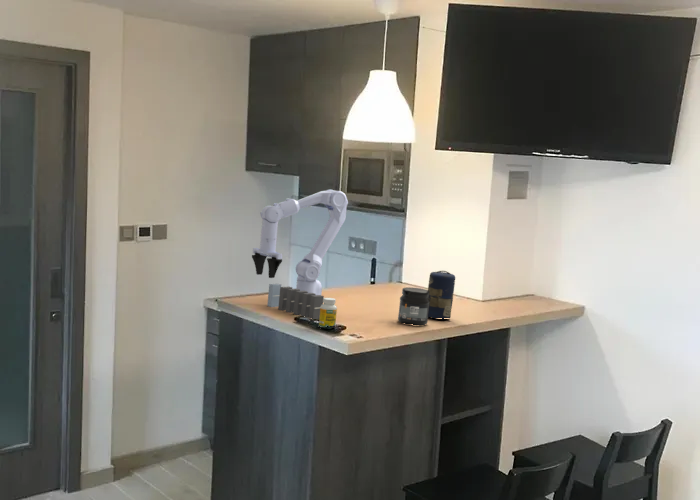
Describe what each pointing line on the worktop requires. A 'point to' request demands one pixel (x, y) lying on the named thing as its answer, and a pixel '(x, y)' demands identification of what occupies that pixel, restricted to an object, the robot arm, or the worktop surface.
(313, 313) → the domino
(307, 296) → the domino
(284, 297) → the domino
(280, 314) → the worktop surface
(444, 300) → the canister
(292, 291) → the domino
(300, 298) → the domino
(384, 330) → the worktop surface
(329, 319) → the supplement bottle
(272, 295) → the domino
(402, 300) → the supplement container
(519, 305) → the worktop surface
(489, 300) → the worktop surface
